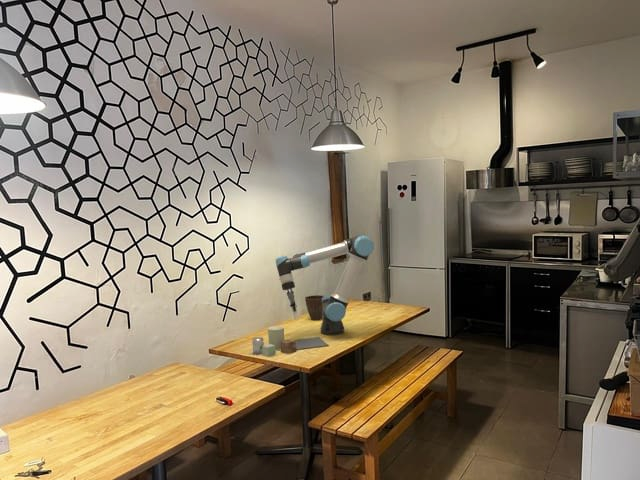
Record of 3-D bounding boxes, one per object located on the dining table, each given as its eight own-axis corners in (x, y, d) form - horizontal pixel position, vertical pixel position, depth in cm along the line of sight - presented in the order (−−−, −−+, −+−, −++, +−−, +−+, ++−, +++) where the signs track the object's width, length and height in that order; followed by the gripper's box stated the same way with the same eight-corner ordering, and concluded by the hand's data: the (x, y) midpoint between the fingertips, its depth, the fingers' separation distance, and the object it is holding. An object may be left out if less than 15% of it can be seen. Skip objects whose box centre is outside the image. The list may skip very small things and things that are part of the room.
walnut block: (289, 349, 262) (289, 339, 262) (296, 351, 258) (295, 340, 258) (281, 352, 258) (280, 341, 258) (287, 354, 254) (287, 343, 254)
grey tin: (262, 350, 262) (262, 336, 261) (264, 353, 256) (264, 339, 256) (252, 352, 260) (251, 337, 260) (253, 355, 254) (253, 340, 254)
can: (282, 350, 261) (281, 329, 260) (266, 350, 263) (265, 328, 262) (286, 345, 270) (285, 325, 269) (271, 345, 272) (270, 325, 271)
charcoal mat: (318, 337, 285) (318, 336, 285) (328, 346, 266) (328, 345, 266) (286, 341, 279) (286, 340, 279) (294, 350, 260) (294, 349, 260)
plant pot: (326, 321, 329) (325, 298, 328) (305, 322, 329) (304, 299, 328) (326, 316, 344) (325, 295, 343) (306, 317, 344) (305, 295, 343)
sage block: (270, 352, 258) (269, 343, 257) (275, 354, 254) (275, 345, 254) (262, 355, 254) (262, 345, 254) (267, 356, 250) (267, 347, 250)
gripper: (281, 286, 289) (290, 320, 285) (280, 281, 265) (290, 318, 261) (293, 283, 290) (302, 317, 286) (293, 278, 265) (303, 314, 262)
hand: (296, 317), depth 273 cm, fingers open, 13 cm apart
